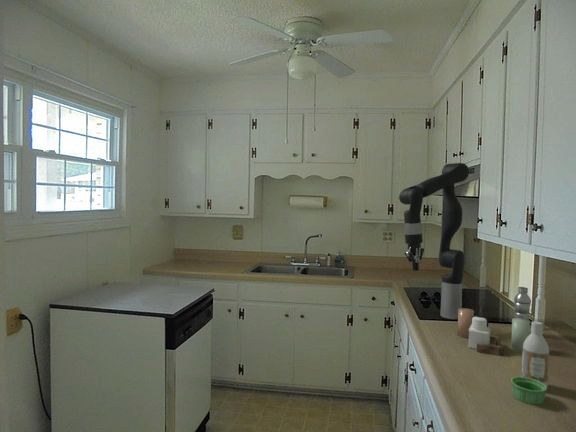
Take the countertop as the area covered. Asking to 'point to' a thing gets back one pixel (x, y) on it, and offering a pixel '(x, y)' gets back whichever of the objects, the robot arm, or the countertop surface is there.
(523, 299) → the plastic bottle
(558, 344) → the countertop surface
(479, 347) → the corral
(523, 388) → the ramekin
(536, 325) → the bath foam
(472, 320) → the medicine bottle
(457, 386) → the countertop surface
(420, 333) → the countertop surface
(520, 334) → the sage canister
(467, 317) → the terracotta canister
